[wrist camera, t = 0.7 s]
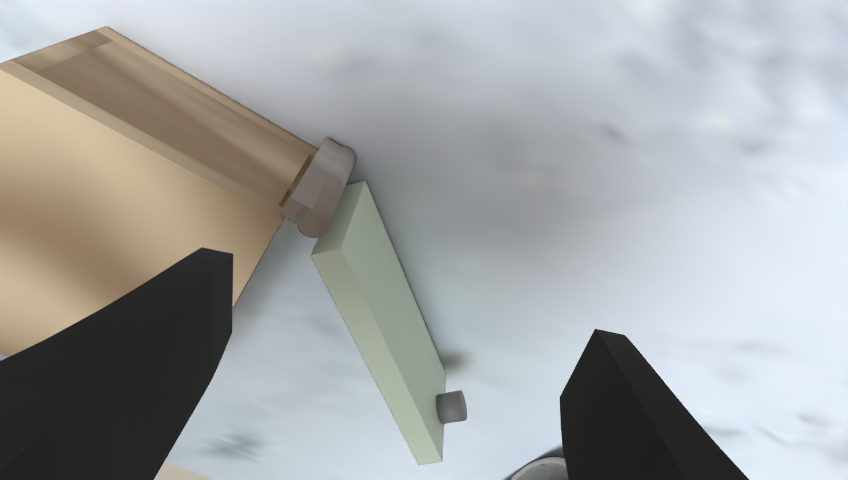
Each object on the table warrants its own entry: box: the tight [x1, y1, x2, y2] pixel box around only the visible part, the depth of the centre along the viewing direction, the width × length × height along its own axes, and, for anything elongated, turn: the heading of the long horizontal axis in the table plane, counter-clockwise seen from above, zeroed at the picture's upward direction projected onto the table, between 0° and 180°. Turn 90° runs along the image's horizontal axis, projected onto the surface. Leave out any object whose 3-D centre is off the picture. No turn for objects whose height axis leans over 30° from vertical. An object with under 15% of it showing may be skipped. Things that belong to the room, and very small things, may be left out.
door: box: [311, 181, 467, 465], centre depth 20 cm, size 10×2×5 cm, turn 18°
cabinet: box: [0, 26, 356, 357], centre depth 19 cm, size 12×9×5 cm
